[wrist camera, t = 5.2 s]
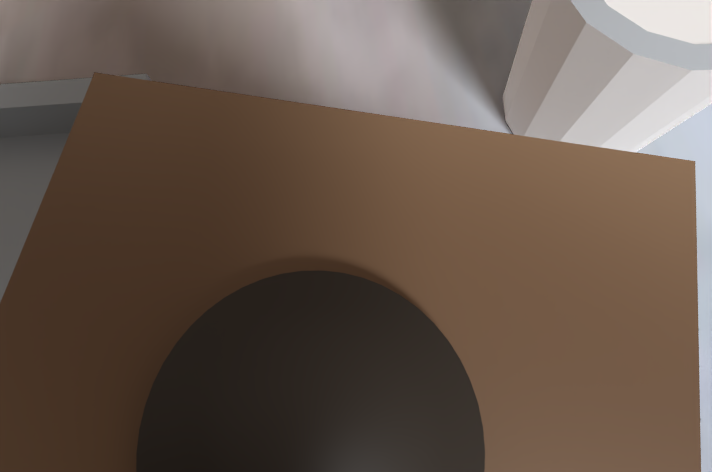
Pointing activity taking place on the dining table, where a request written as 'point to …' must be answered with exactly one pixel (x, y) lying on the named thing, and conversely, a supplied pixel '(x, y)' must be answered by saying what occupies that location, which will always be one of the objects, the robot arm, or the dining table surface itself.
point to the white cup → (610, 70)
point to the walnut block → (346, 296)
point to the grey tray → (31, 154)
